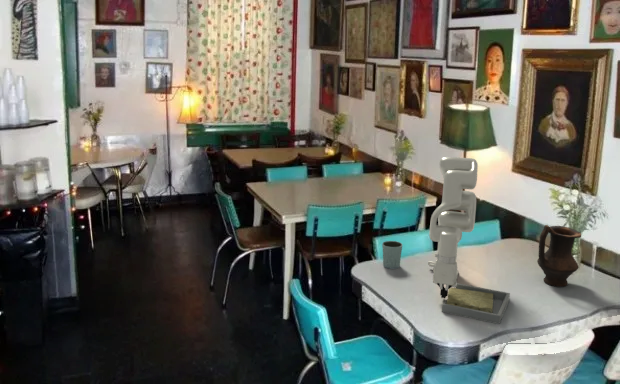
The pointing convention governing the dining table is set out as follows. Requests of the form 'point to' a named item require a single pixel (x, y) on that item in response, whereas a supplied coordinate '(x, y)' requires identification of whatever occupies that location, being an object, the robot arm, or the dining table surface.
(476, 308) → the decorative tile
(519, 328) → the dining table surface
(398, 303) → the dining table surface
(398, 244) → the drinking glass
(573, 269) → the jug
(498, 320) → the box
